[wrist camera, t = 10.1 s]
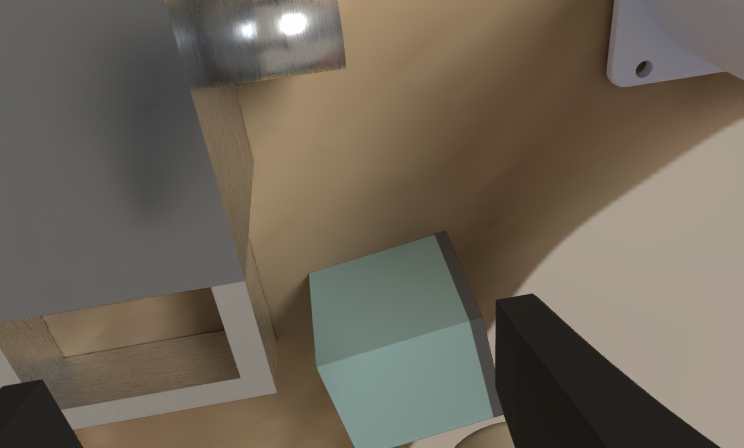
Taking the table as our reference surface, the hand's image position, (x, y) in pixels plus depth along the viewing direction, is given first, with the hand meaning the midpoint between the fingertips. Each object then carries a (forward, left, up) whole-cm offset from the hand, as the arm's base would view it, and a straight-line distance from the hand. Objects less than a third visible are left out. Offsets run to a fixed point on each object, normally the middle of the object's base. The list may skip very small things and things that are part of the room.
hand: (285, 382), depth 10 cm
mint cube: (0, +8, -8) cm, 11 cm away
